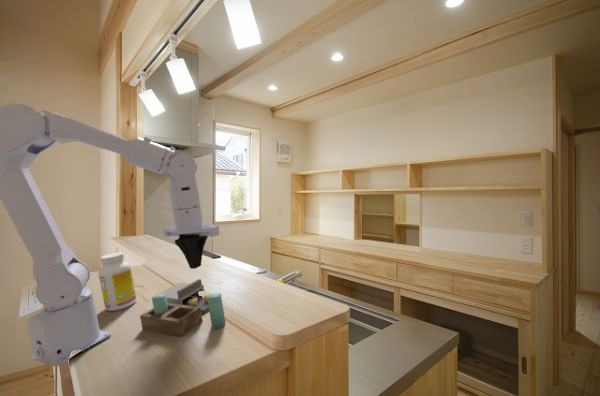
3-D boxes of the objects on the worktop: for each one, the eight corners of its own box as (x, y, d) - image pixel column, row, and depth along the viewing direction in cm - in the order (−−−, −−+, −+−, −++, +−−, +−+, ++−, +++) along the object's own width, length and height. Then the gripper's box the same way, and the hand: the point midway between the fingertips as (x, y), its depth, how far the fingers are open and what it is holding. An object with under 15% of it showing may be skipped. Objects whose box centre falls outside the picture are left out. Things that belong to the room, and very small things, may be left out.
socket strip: (181, 337, 53) (178, 322, 53) (142, 329, 58) (140, 315, 57) (202, 321, 59) (200, 307, 58) (165, 315, 63) (163, 302, 63)
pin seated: (162, 328, 58) (158, 299, 57) (153, 326, 59) (148, 298, 58) (173, 321, 60) (168, 294, 59) (164, 319, 61) (159, 292, 60)
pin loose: (219, 329, 55) (215, 299, 54) (208, 327, 56) (204, 298, 55) (228, 322, 57) (223, 293, 56) (217, 320, 58) (213, 292, 58)
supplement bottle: (141, 297, 74) (133, 249, 73) (127, 310, 68) (118, 257, 66) (115, 300, 74) (106, 252, 72) (99, 313, 67) (88, 261, 66)
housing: (181, 312, 63) (178, 292, 63) (156, 308, 66) (152, 289, 66) (205, 296, 70) (202, 278, 69) (180, 293, 73) (178, 276, 73)
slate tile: (204, 313, 62) (202, 304, 61) (182, 310, 64) (180, 302, 64) (221, 301, 67) (219, 293, 67) (200, 298, 69) (198, 291, 69)
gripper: (224, 203, 64) (232, 262, 65) (176, 205, 70) (185, 259, 71) (202, 208, 57) (211, 273, 59) (151, 211, 63) (161, 270, 65)
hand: (195, 267), depth 64 cm, fingers closed
